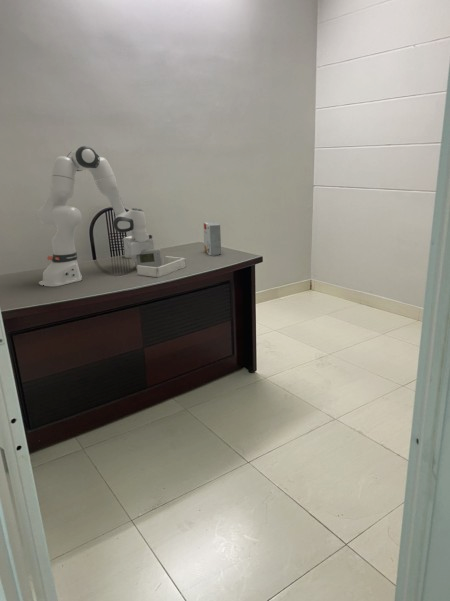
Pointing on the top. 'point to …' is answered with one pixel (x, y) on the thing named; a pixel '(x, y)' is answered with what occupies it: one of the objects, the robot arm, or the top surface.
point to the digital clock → (149, 258)
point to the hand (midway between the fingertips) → (141, 260)
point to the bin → (163, 267)
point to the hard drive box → (212, 238)
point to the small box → (126, 245)
